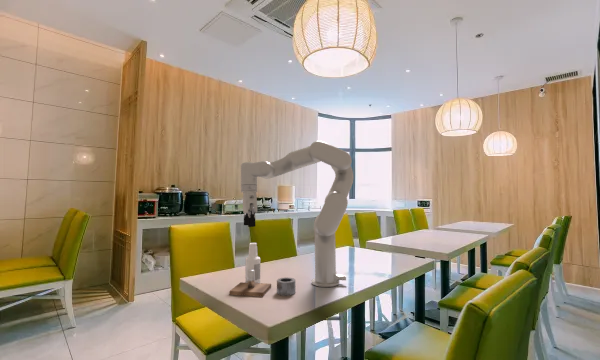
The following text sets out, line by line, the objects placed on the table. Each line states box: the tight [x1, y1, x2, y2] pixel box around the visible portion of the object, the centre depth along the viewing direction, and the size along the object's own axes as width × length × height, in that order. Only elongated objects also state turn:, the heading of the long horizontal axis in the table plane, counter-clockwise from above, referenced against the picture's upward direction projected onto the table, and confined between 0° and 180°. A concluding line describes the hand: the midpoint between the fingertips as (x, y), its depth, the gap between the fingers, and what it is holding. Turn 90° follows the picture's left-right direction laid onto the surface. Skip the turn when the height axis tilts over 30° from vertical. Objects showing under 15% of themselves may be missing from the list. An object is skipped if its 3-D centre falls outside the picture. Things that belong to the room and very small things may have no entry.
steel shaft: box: [248, 269, 255, 288], centre depth 117 cm, size 3×3×7 cm
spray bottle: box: [244, 242, 261, 283], centre depth 129 cm, size 7×7×18 cm
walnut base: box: [228, 281, 272, 297], centre depth 117 cm, size 14×12×2 cm
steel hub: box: [276, 277, 297, 296], centre depth 115 cm, size 7×7×5 cm
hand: (249, 225), depth 129 cm, fingers open, 9 cm apart
